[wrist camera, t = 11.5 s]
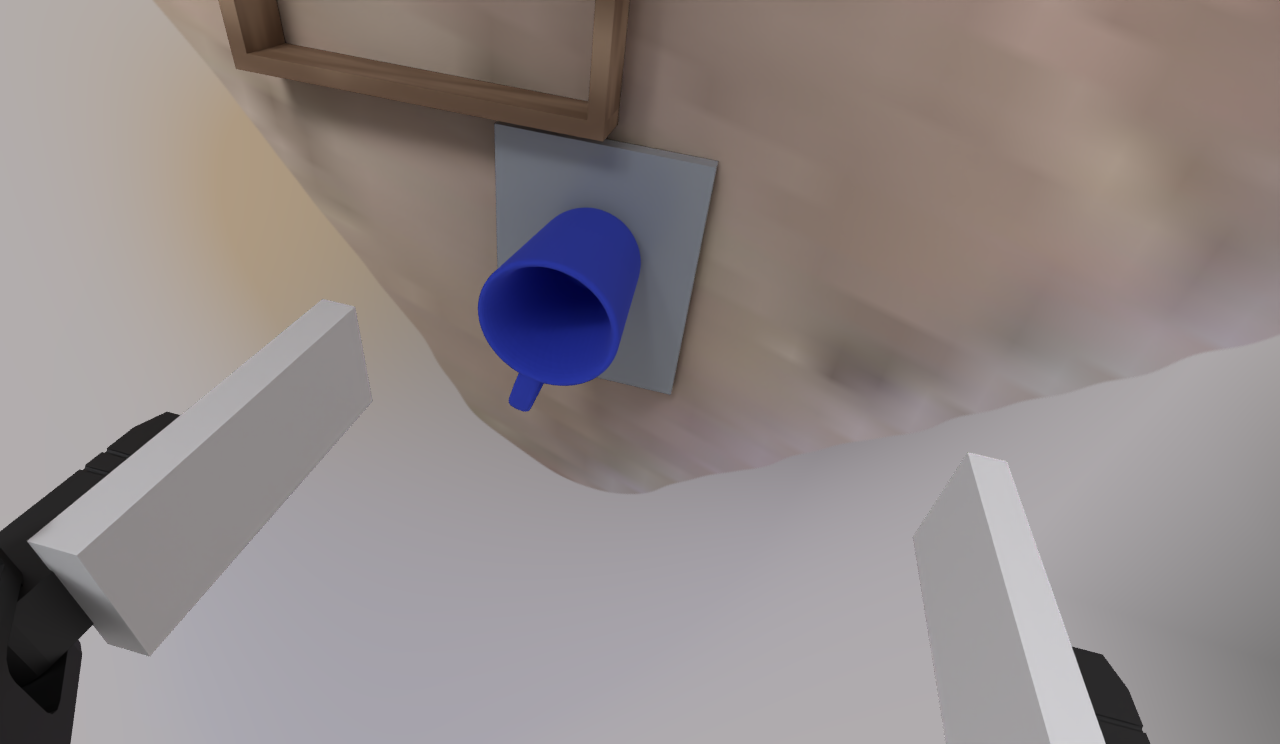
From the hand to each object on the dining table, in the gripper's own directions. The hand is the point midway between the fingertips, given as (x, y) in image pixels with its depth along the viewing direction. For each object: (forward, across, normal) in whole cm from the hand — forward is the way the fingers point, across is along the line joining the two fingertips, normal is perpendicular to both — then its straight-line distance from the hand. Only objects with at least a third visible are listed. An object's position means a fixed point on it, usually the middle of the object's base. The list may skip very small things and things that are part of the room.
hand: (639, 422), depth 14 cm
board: (+29, -8, -13) cm, 32 cm away
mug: (+28, -8, -13) cm, 32 cm away
